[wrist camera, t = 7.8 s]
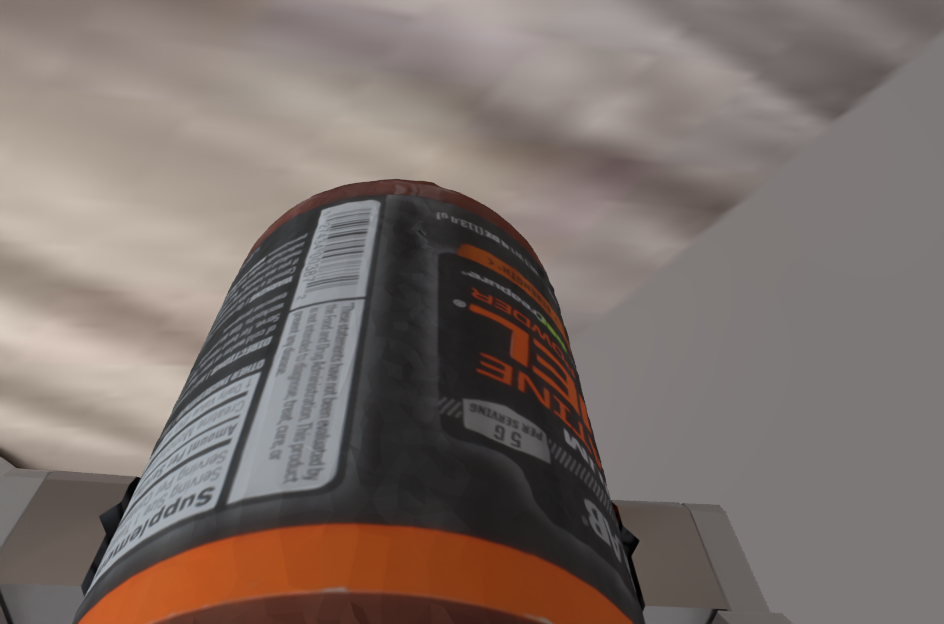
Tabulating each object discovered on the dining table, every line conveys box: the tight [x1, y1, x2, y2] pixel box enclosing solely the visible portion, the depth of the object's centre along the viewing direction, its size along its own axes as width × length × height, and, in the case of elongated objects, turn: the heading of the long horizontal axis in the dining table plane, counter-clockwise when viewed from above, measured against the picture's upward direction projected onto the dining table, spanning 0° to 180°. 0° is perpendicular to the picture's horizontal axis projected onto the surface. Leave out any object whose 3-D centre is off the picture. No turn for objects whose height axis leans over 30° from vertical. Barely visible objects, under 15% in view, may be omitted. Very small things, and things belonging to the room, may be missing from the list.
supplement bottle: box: [72, 179, 646, 624], centre depth 9 cm, size 6×6×11 cm
